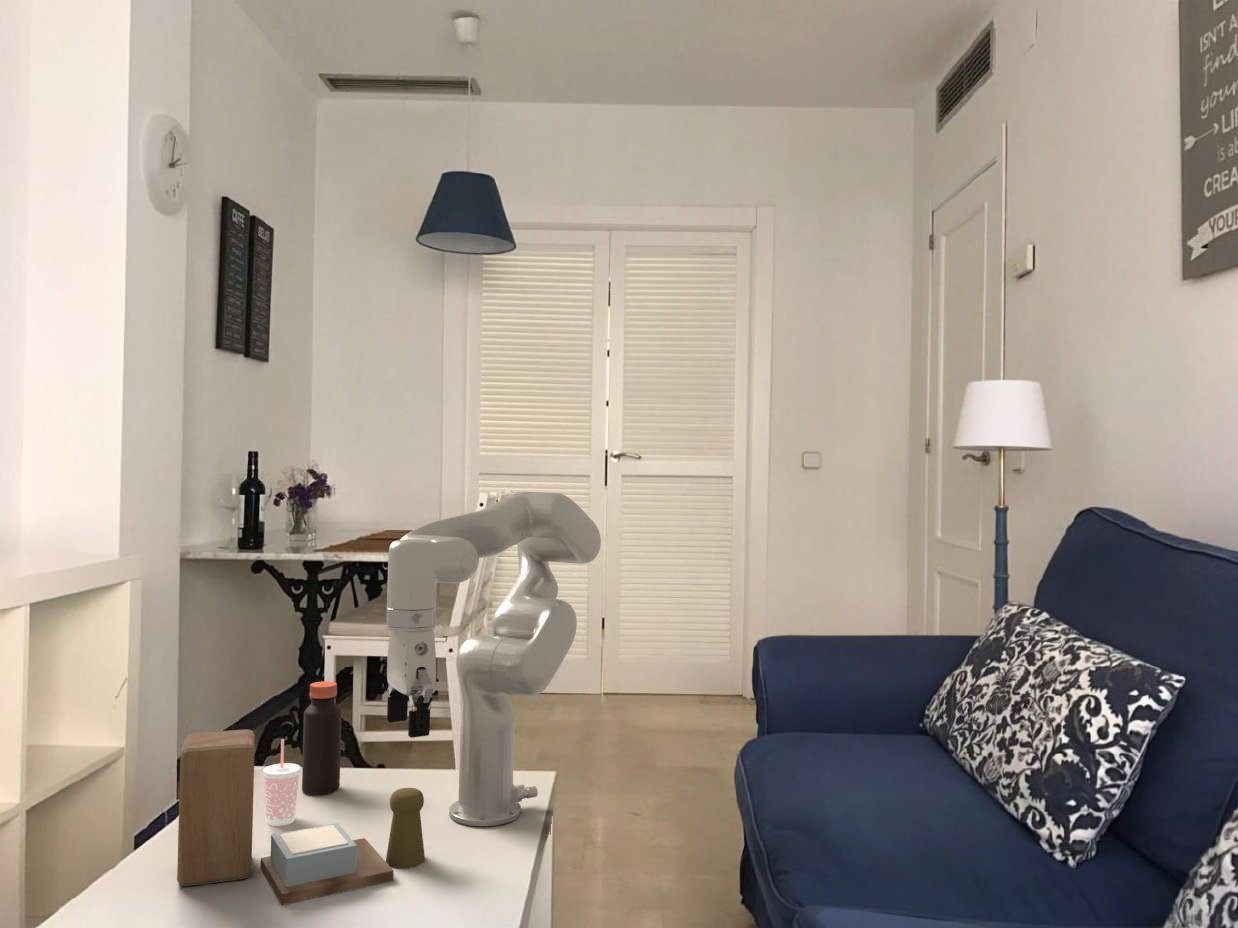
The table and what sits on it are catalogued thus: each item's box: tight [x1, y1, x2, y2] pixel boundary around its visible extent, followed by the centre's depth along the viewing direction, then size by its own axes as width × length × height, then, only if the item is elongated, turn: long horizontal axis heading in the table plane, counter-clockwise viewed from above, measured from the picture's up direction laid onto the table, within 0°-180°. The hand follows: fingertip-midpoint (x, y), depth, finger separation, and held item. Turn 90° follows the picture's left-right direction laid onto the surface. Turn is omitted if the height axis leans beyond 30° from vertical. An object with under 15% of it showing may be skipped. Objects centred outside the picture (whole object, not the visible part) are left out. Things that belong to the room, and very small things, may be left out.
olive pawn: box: [385, 787, 426, 870], centre depth 147 cm, size 6×6×11 cm
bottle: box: [301, 680, 343, 797], centre depth 178 cm, size 7×7×20 cm
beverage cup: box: [262, 738, 302, 827], centre depth 162 cm, size 6×6×14 cm
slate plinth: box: [270, 822, 357, 887], centre depth 141 cm, size 10×10×4 cm
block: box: [176, 728, 256, 887], centre depth 142 cm, size 10×10×20 cm
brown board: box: [259, 837, 394, 906], centre depth 142 cm, size 16×14×2 cm
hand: (407, 728), depth 147 cm, fingers open, 9 cm apart
